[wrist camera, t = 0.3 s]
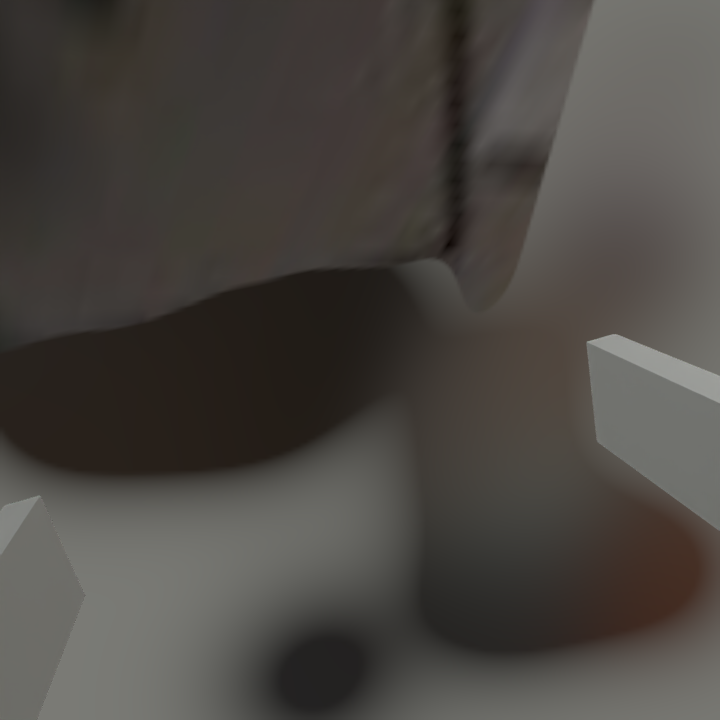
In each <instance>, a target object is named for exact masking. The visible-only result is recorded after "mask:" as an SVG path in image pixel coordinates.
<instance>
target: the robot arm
mask: <svg viewBox="0 0 720 720" xmlns="http://www.w3.org/2000/svg"><path fill="white" fill-rule="evenodd" d="M587 352H588V361H589V371H590V380H591V390H592V399H593V409H594V418H595V428H596V437H597V442H598V443H600V444H601V445H603V446H604V447H605V448H607V449H608V450H609V451H611V452H612V453H614V454H615V455H616V456H618V457H619V458H620V459H622V460H623V461H625V462H626V463H627V464H629V465H630V466H632V467H633V468H634V469H635V470H637V471H638V472H640V473H641V474H642V475H644V476H645V477H646V478H648V479H649V480H651V481H652V482H653V483H655V484H656V485H657V486H659V487H660V488H662V489H663V490H664V491H666V492H667V493H669V494H670V495H671V496H672V497H674V498H675V499H677V500H678V501H679V502H681V503H682V504H683V505H685V506H686V507H687V508H689V509H690V510H692V511H693V512H694V513H696V514H697V515H698V516H700V517H701V518H703V519H704V520H705V521H707V522H708V523H709V524H711V525H712V526H714V527H715V528H716V529H718V530H719V531H720V376H718V375H716V374H713V373H711V372H708V371H706V370H703V369H701V368H698V367H696V366H694V365H691V364H689V363H686V362H683V361H681V360H678V359H676V358H674V357H671V356H669V355H666V354H664V353H661V352H659V351H656V350H654V349H651V348H649V347H646V346H644V345H641V344H639V343H636V342H634V341H632V340H629V339H627V338H624V337H622V336H619V335H617V334H613V335H610V336H606V337H602V338H599V339H595V340H591V341H588V342H587ZM84 597H85V594H84V592H83V589H82V587H81V585H80V583H79V581H78V578H77V576H76V574H75V572H74V569H73V567H72V565H71V563H70V560H69V558H68V556H67V554H66V552H65V550H64V547H63V545H62V543H61V541H60V538H59V536H58V534H57V532H56V529H55V527H54V525H53V523H52V520H51V518H50V516H49V514H48V511H47V509H46V507H45V505H44V503H43V500H42V498H41V496H36V497H32V498H29V499H25V500H22V501H18V502H14V503H11V504H7V505H5V506H4V507H3V508H2V510H1V511H0V720H37V719H38V716H39V713H40V711H41V708H42V706H43V703H44V700H45V698H46V695H47V693H48V690H49V688H50V685H51V682H52V680H53V677H54V675H55V672H56V669H57V667H58V664H59V662H60V659H61V657H62V654H63V651H64V649H65V646H66V644H67V641H68V639H69V636H70V633H71V631H72V628H73V626H74V623H75V621H76V618H77V615H78V613H79V610H80V608H81V605H82V602H83V600H84Z"/></svg>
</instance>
